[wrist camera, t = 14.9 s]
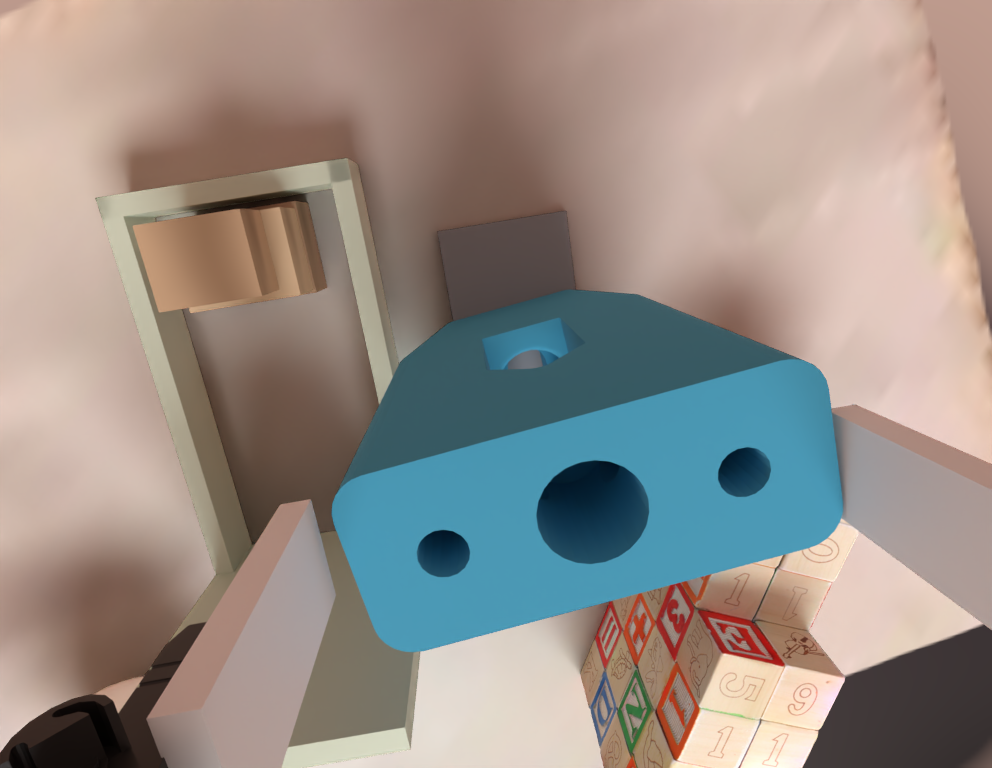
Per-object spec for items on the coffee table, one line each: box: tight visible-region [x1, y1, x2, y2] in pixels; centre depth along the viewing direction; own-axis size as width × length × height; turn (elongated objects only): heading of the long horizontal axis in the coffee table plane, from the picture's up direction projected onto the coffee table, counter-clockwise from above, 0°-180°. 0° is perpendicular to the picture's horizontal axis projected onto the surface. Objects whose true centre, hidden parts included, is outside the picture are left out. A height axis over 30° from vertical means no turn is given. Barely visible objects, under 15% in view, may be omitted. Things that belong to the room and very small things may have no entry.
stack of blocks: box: [581, 518, 859, 768], centre depth 32 cm, size 21×6×12 cm, turn 163°
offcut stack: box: [133, 201, 327, 313], centre depth 28 cm, size 6×4×8 cm
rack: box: [96, 158, 420, 768], centre depth 26 cm, size 12×22×16 cm, turn 9°
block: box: [332, 289, 843, 652], centre depth 24 cm, size 12×5×20 cm, turn 105°
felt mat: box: [437, 211, 576, 369], centre depth 34 cm, size 7×14×1 cm, turn 9°
